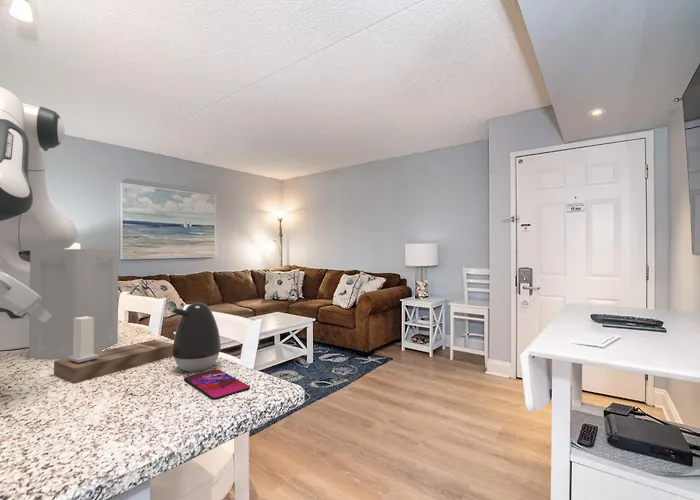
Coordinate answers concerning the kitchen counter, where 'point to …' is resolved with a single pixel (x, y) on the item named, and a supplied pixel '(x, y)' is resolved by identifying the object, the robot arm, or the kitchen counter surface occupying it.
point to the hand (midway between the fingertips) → (37, 317)
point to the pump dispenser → (196, 338)
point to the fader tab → (83, 340)
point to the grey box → (73, 298)
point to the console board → (113, 360)
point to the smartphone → (216, 384)
